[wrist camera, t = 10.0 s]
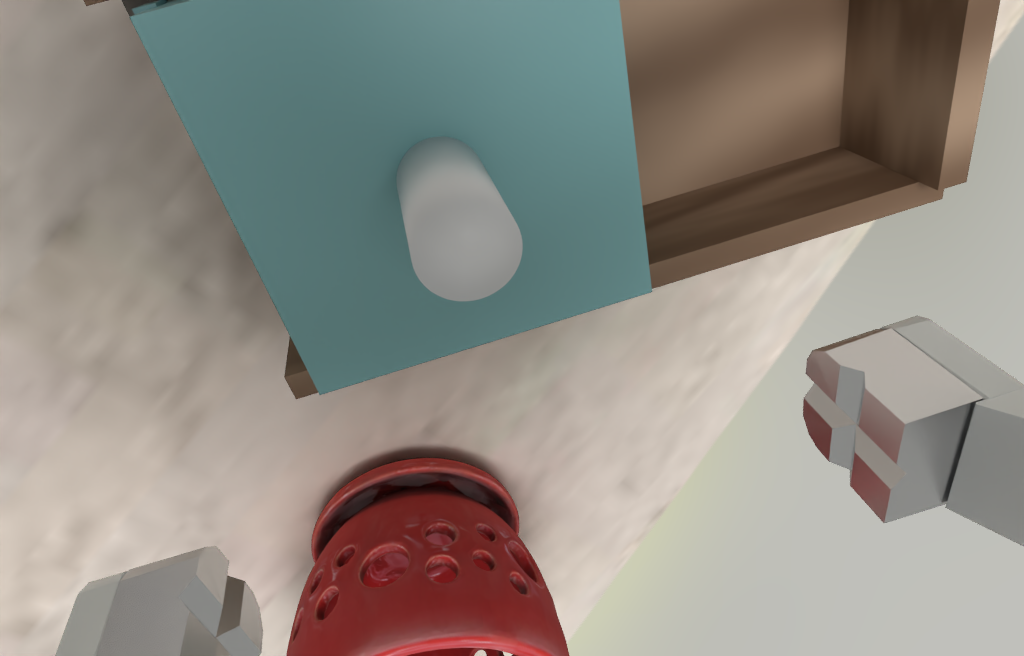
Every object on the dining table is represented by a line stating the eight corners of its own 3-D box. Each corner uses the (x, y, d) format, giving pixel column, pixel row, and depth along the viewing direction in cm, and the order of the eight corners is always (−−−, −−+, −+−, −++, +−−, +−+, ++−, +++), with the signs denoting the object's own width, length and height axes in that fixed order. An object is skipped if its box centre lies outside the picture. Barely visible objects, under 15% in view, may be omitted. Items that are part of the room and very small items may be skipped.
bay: (128, -50, 22) (46, -39, 16) (874, -245, 23) (1056, -303, 17) (304, 317, 30) (294, 415, 24) (845, 154, 32) (961, 207, 26)
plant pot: (288, 442, 34) (264, 662, 24) (533, 429, 37) (604, 618, 27) (300, 606, 40) (286, 831, 30) (508, 583, 43) (557, 780, 33)
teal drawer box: (177, -10, 21) (29, 49, 11) (536, -106, 22) (696, -131, 12) (319, 300, 28) (304, 509, 18) (589, 219, 29) (720, 375, 19)
